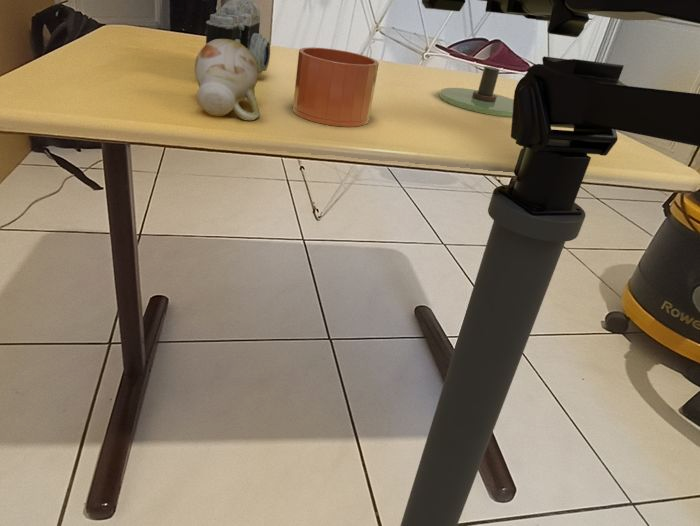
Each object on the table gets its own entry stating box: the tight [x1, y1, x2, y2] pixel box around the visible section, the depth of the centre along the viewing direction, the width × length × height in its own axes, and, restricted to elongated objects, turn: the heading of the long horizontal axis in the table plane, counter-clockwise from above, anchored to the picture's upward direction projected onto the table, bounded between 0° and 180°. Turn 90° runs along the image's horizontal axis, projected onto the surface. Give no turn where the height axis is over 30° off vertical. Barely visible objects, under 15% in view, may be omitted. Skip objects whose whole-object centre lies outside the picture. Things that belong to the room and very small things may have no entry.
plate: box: [439, 87, 514, 118], centre depth 90 cm, size 14×14×1 cm
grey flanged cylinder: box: [472, 66, 500, 102], centre depth 88 cm, size 4×4×5 cm
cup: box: [292, 46, 380, 128], centre depth 67 cm, size 9×9×7 cm
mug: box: [194, 39, 260, 121], centre depth 63 cm, size 8×10×10 cm
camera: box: [205, 0, 271, 74], centre depth 77 cm, size 15×7×10 cm, turn 175°
